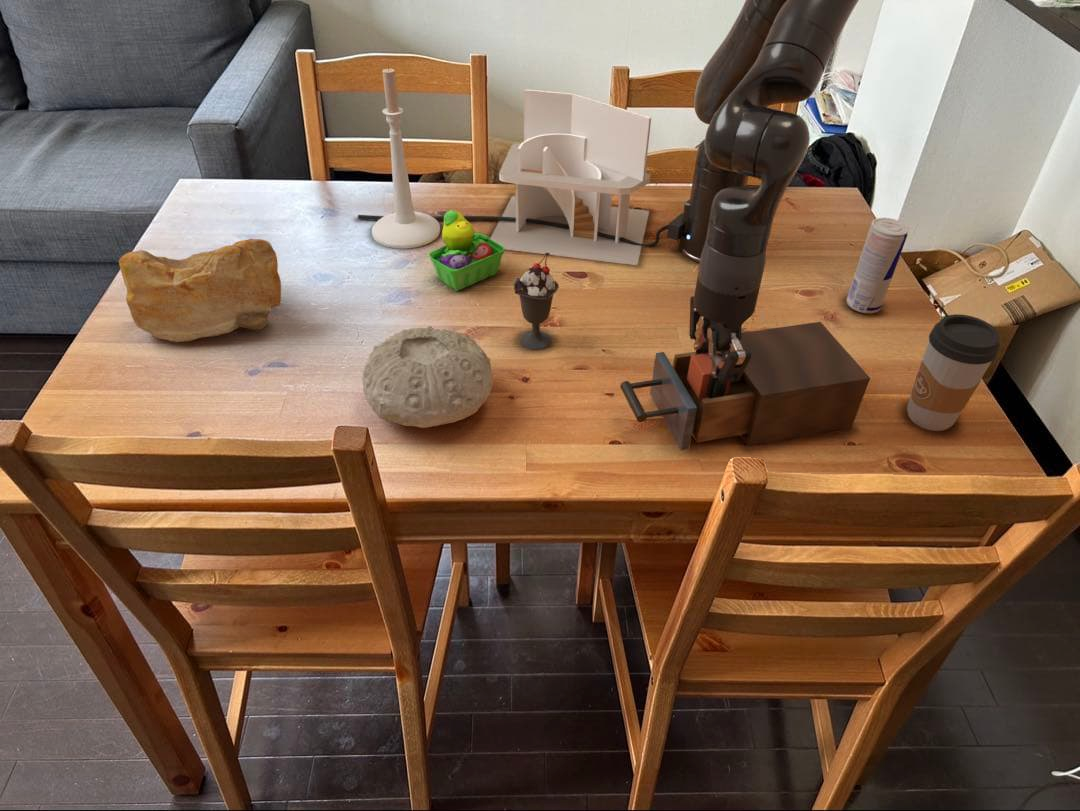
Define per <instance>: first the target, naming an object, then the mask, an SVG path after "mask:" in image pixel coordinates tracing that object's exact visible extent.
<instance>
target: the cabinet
mask: <svg viewBox="0 0 1080 811" xmlns="http://www.w3.org/2000/svg"><path fill="white" fill-rule="evenodd" d="M740 343H741V346H742V348H743V350H746V349H749V350H750V351H751V359H750V361H749V362H748V364H747V366H746V368H745V370H744V372H743V374H742V375H743V376H744V378H745V379H746V381H747V382H748V383H749V385H750V386H751V388H752V389H753V391H754V392H755V394H756V395H757V396H758V397H757V400H756V404H755V408H754V411H753V415H752V419H751V423H750V427H749V431H748V434H743V435H739V436H740V437H741V439H742V441H743V442H744V444H745V446H746V447H747V448H751V447H757V446H762V445H763V446H764V445H769V444H774V443H780V442H785V441H786V442H787V441H791V440H792V441H793V440H798V439H803V438H809V437H814V436H820V435H827V434H832V433H833V434H834V433H838V432H844V431H850V430H852V428H853V425H854V423H855V420H856V417H857V415H858V413H859V409H860V407H861V404H862V401H863V399H864V397H865V394H866V392H867V388H868V386H869V383H870V380H871V377H870V376H869V374H868V373H867V372H866V371H865V370H864V369H863V368H862V367H861V366H860V364H859V363H858V362H857V361H856V360H855V359H854V357H852V356H851V354H850V353H849V352H848V351H847V349H845V347H844V346H843V345H842V344H841V343H840V342H839V341H838V339H836V337H835V336H834V335H833V334H832V333H831V332H830V330H829V329H828V328H827V327H826V326H825V325H824V323H822V321H816V322H809V323H802V324H801V323H800V324H794V325H788V326H780V327H772V328H767V329H759V330H751V331H744V332H742V337H741V340H740ZM727 351H729V350H726V352H727Z"/></svg>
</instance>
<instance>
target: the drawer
mask: <svg viewBox="0 0 1080 811" xmlns="http://www.w3.org/2000/svg"><path fill="white" fill-rule="evenodd" d="M716 352H718V351H716ZM720 352H721V353H723V352H726V351H720ZM695 353H696V351H690V352H684V353H677V354H674V356H673V362H672V363H671V361H670V360H669V358H668V356H667V355H666V353H665V351H661V352H655V356H654V362H653V370H652V378H651V379H650V380H644V381H637V382H630V381H629V380H624V381H622V382H621V383H620V386H619V387H620V389H621V392H622V393H623V395H624V397H625V399H626V402H627V403H628V405H629V407H630V409H631V411H632V413H633V415H634V417H635V419H636V421H637V422H638V423H644V422H645V421H646V420H647V419H651V418H656V417H662V419H663V420H664V422H665V424H666V426H667V428H668V429H669V431H670V433H671V435H672V437H673V439H674V441H675V442H676V444H677V446H678V448H679V450H680V451H686V450H689V449H690V446H691V441H692V437H693V438H694V440H695V442H696V443H702V442H708V441H713V440H719V439H725V438H731V437H732V438H733V437H737V436H738V437H739V436H740V435H743V434H748V431H749V427H750V423H751V419H752V415H753V411H754V408H755V404H756V400H757V397H758V396H757V395H756V394H755V392H754V391H753V389H752V388H751V386H750V385H749V383H748V382H747V381H746V379H745V378H744V376H743V375H742V376H741V378H740V380H739V381H733V382H730V387H729V391H728V394H727V395H724V396H723V397H717V398H702V399H698V397H697V395H696V394H695V392H694V391H693V389H692V387H691V386H690V384H689V382H688V381H687V376H688V370H689V365H690V359H691V355H695ZM648 387H650V392H649V394H650V396H651V398H652V400H653V402H654V403H655V406H656V407H657V410H656V409H655V410H650V411H649V410H648V411H645V409H644V406H643V405H642V403H641V401H640V400H639V397H638V396H637V394H636V392H635V390H636V389H641V388H642V389H643V388H648ZM634 389H635V390H634Z"/></svg>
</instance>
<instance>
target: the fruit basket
mask: <svg viewBox="0 0 1080 811" xmlns="http://www.w3.org/2000/svg"><path fill="white" fill-rule="evenodd" d="M443 216H444V220H443V227H442V229H441V230H442V231H441V237H442V241H443V243H444V244H445V245H444V246H441V247H439V248H437V249H435V250H432V251H430V252H429V253H428V257H429V259H430V261H431V262H432V263H433V267H434V270H435V272H436V274H437V276H438V279H439V280H440V281H442V282H443V283H444V284H446V285H447V286H448V287H450V288H451V289H453V290H454V291H456V292H459V291H460V290H463V289H465V288H466V287H471V286H472V285H475V284H476V283H478V282H481V281H483V280H486V279H487V278H488V277H493V276H495V275H496V274H498V270H499V268H500V264H501V261H502V257H503V255H504V253H505V250H506V249H505V248H504V247H503V246H501V245H500V244H498V243H496V242H495V241H493V240H492V239H490V238H491V237H488V236H487V235H485V234H483V233H481V232H477V233H475V229H474V226H473V225H472V223H470V221H469V220H466V219H465V218H464V216H465V215H463V213H461V212H460V211H459V212H458V211H456V210H454V209H449V210H448V211H446V212H445V213H444V215H443Z"/></svg>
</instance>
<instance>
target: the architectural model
mask: <svg viewBox="0 0 1080 811" xmlns="http://www.w3.org/2000/svg"><path fill="white" fill-rule="evenodd" d="M651 125H652V117H651V116H647V115H644V114H641V113H637V112H635V111H631V110H628V109H625V108H622V107H618V106H615V105H611V104H609V103H605V102H602V101H598V100H595V99H592V98H589V97H586V96H583V95H578V94H576V93H573V92H572V93H571V92H558V91H548V90H537V89H536V90H535V89H524V90H523V141H522V142H515V143H513V144H512V145H511V146H510V148H509V150H508V152H507V155H506V157H505V159H504V161H503V163H502V165H501V168H500V170H499V173H498V176H499V178H498V179H499V181H501V182H502V183H509V184H514V185H515V195H512V196H511V197H510V199H509V201H508V203H507V205H506V207H505V209H504V211H503V213H502V215H501V217H515V218H516V221H503V220H498V223H497V224H496V226H495V229H494V230H493V232H492V234H491V236H490V237H489V238H490V239H492V240H493V241H495V242H496V243H498V244H500V245H501V246H503V247H504V248H505V250H506V251H516V252H523V253H531V254H541V255H545V253H550V254H549V255H548V256H556V257H564V258H574V259H581V260H582V259H583V260H590V261H599V262H606V263H615V264H624V265H631V266H638V264H639V259H640V255H641V250H642V246H638V245H632V244H628V243H625V242H622V241H619V238H620V237H623V238H626V239H628V240H631V241H634V242H636V243H640V244H643V241H644V237H645V232H646V228H647V224H648V218H649V215H650V210H646V209H645V210H644V209H637V208H636V209H635V208H630V202H631V195H632V194H634V193H635V192H638V191H639V190H640V189H643V188H644V187H646V186H648V185H649V184H650V183H651V182H650V181H651V174H650V173H648V172H647V160H648V153H649V152H648V151H649V142H650V133H651ZM613 195H617V196H618V203H617V206H612V204H613V203H612V202H613ZM526 219H536V220H543V221H550V222H556V223H562V224H567V225H569V228H570V229H567V228H562V227H557V226H551V225H544V224H537V223H528V222H525V221H526ZM597 231H598V232H601V233H605V234H609V235H614V236H616V238H615V240H614V239H609V238H605V237H601V236H597Z"/></svg>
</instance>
